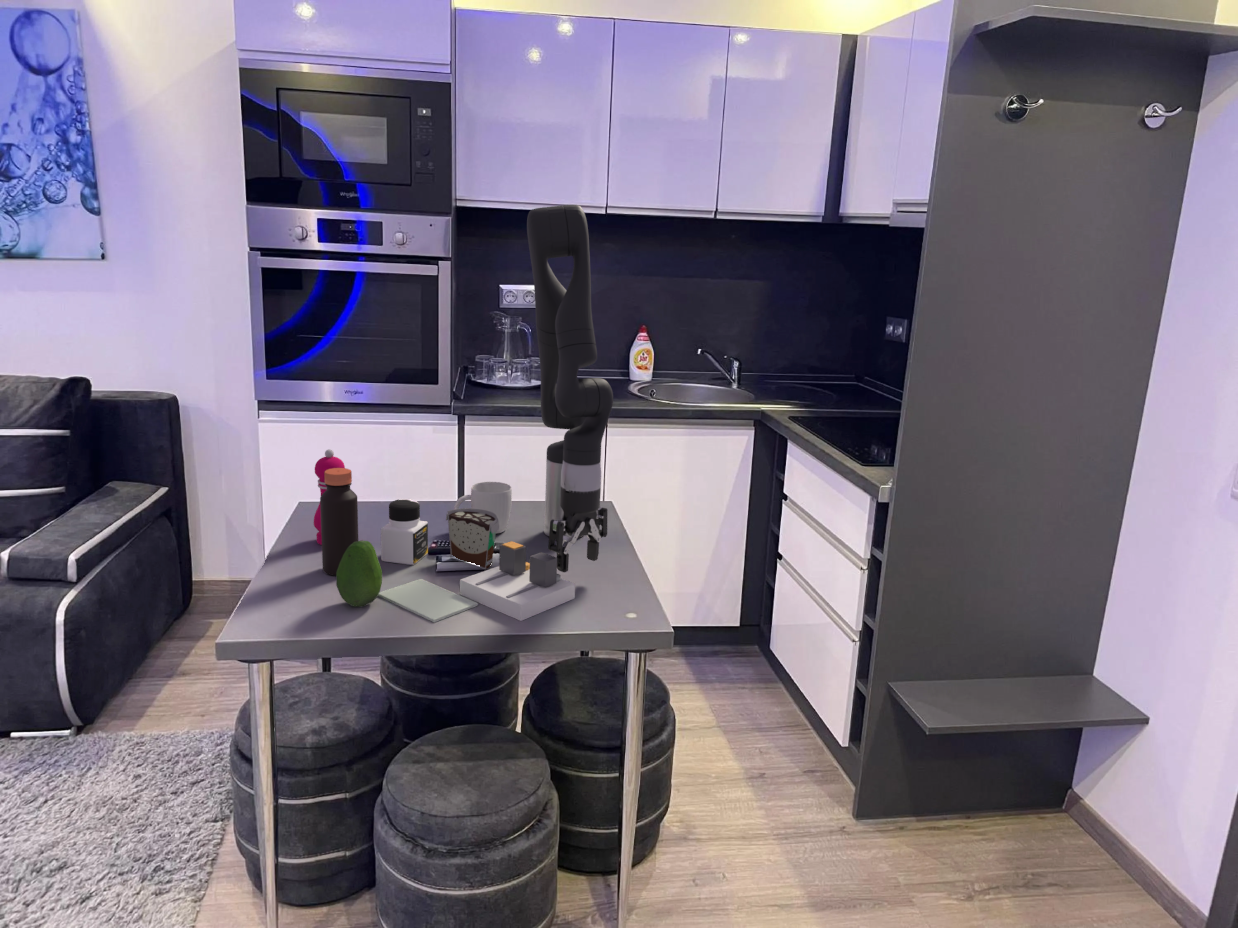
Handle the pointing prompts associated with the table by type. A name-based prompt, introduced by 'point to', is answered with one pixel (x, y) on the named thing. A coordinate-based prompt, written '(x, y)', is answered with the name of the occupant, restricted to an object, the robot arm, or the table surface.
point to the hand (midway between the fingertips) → (577, 565)
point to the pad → (427, 600)
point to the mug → (491, 500)
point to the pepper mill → (320, 468)
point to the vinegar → (337, 518)
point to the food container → (472, 535)
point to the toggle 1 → (512, 558)
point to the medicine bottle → (404, 533)
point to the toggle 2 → (543, 569)
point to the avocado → (359, 574)
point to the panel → (515, 592)
